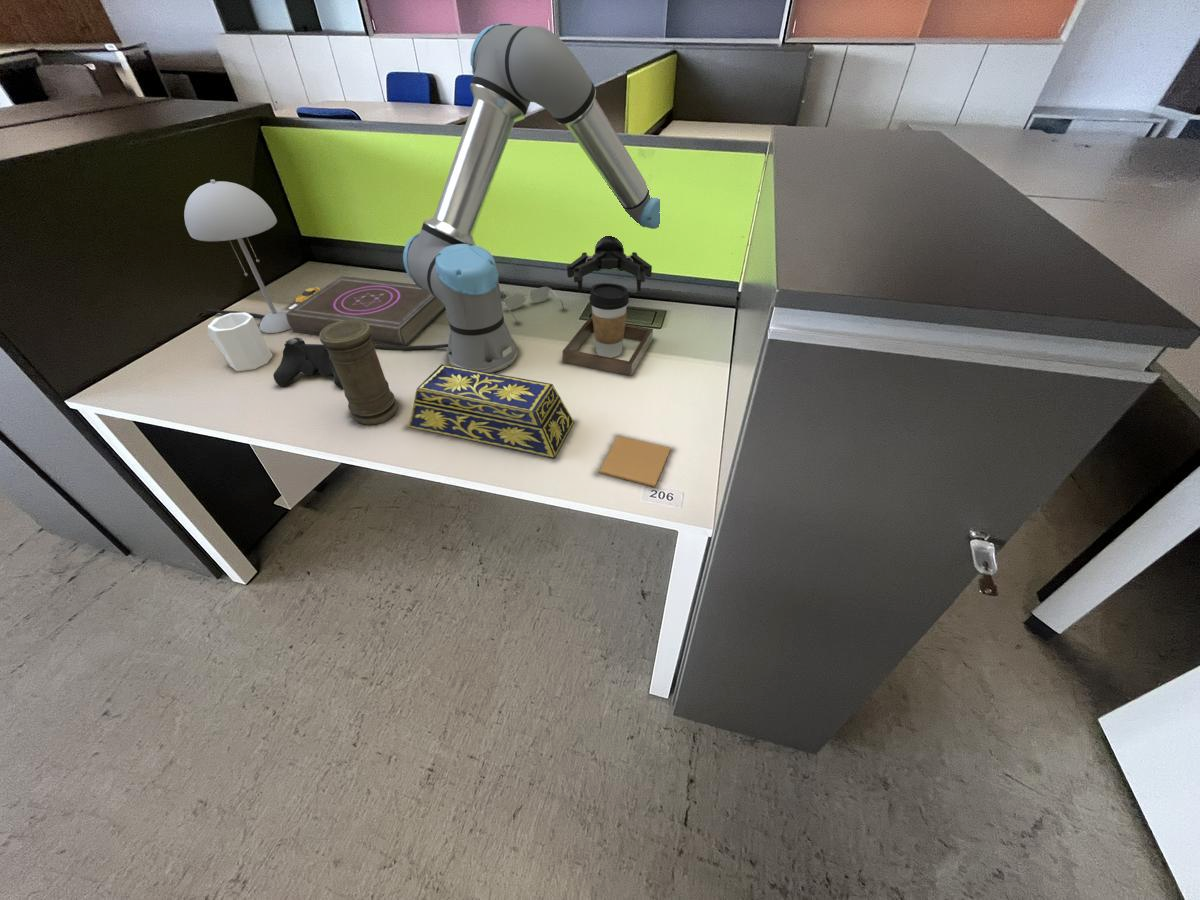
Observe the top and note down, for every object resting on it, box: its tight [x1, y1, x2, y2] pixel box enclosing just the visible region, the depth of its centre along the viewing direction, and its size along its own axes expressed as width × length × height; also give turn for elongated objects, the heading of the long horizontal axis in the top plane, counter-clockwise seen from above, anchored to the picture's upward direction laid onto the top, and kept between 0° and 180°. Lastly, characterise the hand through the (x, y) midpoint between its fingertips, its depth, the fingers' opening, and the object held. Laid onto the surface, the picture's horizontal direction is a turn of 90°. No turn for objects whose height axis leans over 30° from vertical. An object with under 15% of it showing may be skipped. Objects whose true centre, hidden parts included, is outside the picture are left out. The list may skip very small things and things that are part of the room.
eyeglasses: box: [501, 286, 565, 325], centre depth 133 cm, size 14×8×4 cm, turn 122°
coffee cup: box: [588, 282, 630, 358], centre depth 114 cm, size 8×8×15 cm
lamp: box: [183, 179, 292, 334], centre depth 119 cm, size 17×17×33 cm
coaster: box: [598, 435, 671, 488], centre depth 92 cm, size 10×10×1 cm
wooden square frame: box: [562, 317, 654, 377], centre depth 118 cm, size 16×16×3 cm
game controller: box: [272, 336, 343, 389], centre depth 110 cm, size 16×7×10 cm, turn 86°
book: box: [286, 275, 446, 346], centre depth 130 cm, size 30×22×5 cm
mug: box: [206, 311, 273, 372], centre depth 114 cm, size 12×9×10 cm
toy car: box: [287, 286, 322, 310], centre depth 138 cm, size 4×8×2 cm, turn 164°
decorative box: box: [408, 363, 575, 459], centre depth 97 cm, size 11×30×9 cm, turn 72°
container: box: [319, 320, 399, 426], centre depth 97 cm, size 9×9×18 cm
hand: (609, 285), depth 119 cm, fingers open, 13 cm apart
